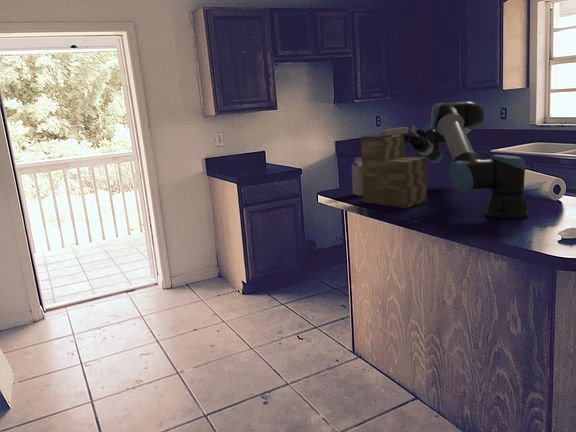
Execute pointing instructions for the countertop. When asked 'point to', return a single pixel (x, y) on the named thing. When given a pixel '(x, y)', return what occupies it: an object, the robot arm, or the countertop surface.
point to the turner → (387, 133)
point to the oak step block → (392, 173)
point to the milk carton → (357, 177)
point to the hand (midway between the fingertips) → (400, 127)
